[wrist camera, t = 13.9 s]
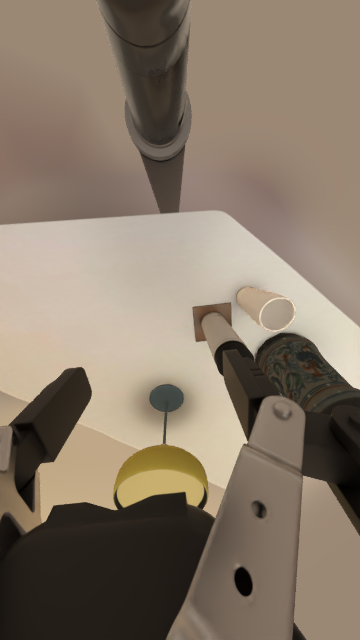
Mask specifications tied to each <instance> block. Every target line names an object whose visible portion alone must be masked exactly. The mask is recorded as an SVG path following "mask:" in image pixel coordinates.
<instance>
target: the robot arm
mask: <svg viewBox="0 0 360 640" xmlns="http://www.w3.org/2000/svg"><path fill="white" fill-rule="evenodd" d="M96 2H97V5H98V9H99V12H100V15H101V18H102V22H103V25H104V28H105V31H106V35H107V37H108V41H109V44H110V47H111V50H112V54H113V57H114V60H115V63H116V67H117V70H118V73H119V76H120V79H121V83H122V86H123V89H124V92H125V96H126V99H127V102H128V105H129V109H130V112H131V116H132V120H133V124H134V127H135V129H136V132H137V133H138V135H139V137H140V138H141V139H142V140H143V141H144V142H145V143H146V144H147V145H149V146H151V147H154V148H165V147H168V146H170V145H172V144H173V143H174V142H175V141H176V140H177V139H178V137H179V135H180V133H181V131H182V128H183V124H184V116H185V111H186V107H187V102H186V107H185V94H186V77H187V62H188V48H189V32H190V15H191V0H96ZM184 107H185V108H184ZM223 375H224V381H225V385H226V387H227V390H228V393H229V395H230V398H231V400H232V403H233V405H234V408H235V410H236V413H237V415H238V418H239V421H240V423H241V426H242V428H243V431H244V433H245V436H246V438H247V441H248V443H247V444H243V446H242V448H241V450H240V453H239V455H238V458H237V461H236V464H235V466H234V469H233V472H232V475H231V477H230V480H229V483H228V485H227V488H226V491H225V494H224V496H223V499H222V502H221V504H220V507H219V510H218V513H217V515H216V518H214V517H213V516H212V515H210V514H209V513H207V512H205V511H204V510H203V509H200V508H198V507H196V506H193V505H190V504H188V503H187V497H186V492H178V493H168V494H159V495H152V496H150V497H147V498H145V499H143V500H141V501H138V502H136V503H134V504H131V505H129V506H127V507H124V508H122V509H120V510H111V509H108V508H104V507H101V506H97V505H94V504H90V503H87V502H83V503H74V504H64V505H56V506H53V508H52V510H51V512H50V514H49V516H48V518H47V520H46V522H44V523H42V521H41V511H40V510H41V509H40V508H41V507H40V474H39V472H38V470H37V468H38V467H39V465H40V464H41V463H48V462H54V461H55V459H56V457H57V455H58V454H59V452H60V450H61V449H62V447H63V445H64V444H65V442H66V440H67V439H68V437H69V435H70V433H71V432H72V430H73V428H74V427H75V425H76V423H77V422H78V420H79V418H80V416H81V415H82V413H83V411H84V410H85V408H86V406H87V405H88V403H89V401H90V399H91V395H92V390H91V387H90V384H89V381H88V378H87V376H86V373H85V370H84V369H83V368H82V367H77V368H69V369H66V370H65V371H64V372H63V373H62V374H61V375H60V376H59V377H58V378H57V379H56V380H55V381H53V382H52V383H50V384H49V385H47V386H46V387H45V388H44V389H43V390H42V392H41V393H40V395H38V396H37V397H36V398H35V399H34V400H33V401H32V402H31V403H30V404H29V405H28V406H27V407H26V408H25V409H24V410H23V411H22V412H21V413H20V414H19V415H18V416H17V417H16V418H15V419H14V420H13V421H12V422H11V423H10V424H9V425H8V426H1V427H0V640H306V638H305V637H304V636H303V634H302V633H301V631H300V630H299V629H298V627H297V626H296V625H295V623H294V607H295V592H296V577H297V560H298V545H299V531H300V515H301V499H302V483H303V476H307V477H311V478H315V479H319V480H323V481H326V482H327V483H328V485H329V487H330V488H331V490H332V491H333V493H334V495H335V496H336V497H337V500H338V501H339V503H340V504H341V506H342V508H343V509H344V511H345V513H346V514H347V516H348V518H349V519H350V521H351V522H352V524H353V526H354V527H355V529H356V530H357V532H358V533H359V535H360V408H359V407H356V406H352V405H338V406H335V407H334V408H333V409H332V413H331V415H328V414H322V413H315V412H309V411H305V410H303V409H302V408H301V407H300V406H299V405H298V404H297V403H296V402H294V401H292V400H291V399H288V398H286V397H282V396H281V395H280V393H279V392H278V391H277V389H276V388H275V387H274V385H273V384H272V383H271V381H270V380H269V379H268V377H267V376H266V375H265V374H264V372H263V371H262V370H261V368H260V367H259V366H258V364H257V363H256V362H255V361H253V360H252V359H250V358H248V357H244V358H242V356H241V355H240V353H239V352H238V350H237V349H235V350H226V351H223Z"/></svg>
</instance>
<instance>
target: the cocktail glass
mask: <svg viewBox="0 0 360 640" xmlns="http://www.w3.org/2000/svg"><path fill="white" fill-rule="evenodd" d="M183 400H184V396H183V393H182V392H181V390H180V389H178V388H177V387H175V386H172V385H161V386H158V387H156V388H155V389H154V390H153V391H152V392H151V394H150V403H151V405H152V406H153V407H154V408H155V409H157V410H159V411H163V412H165V417H164V436H163V444H161V445H158V446H151V447H148V448H145V449H142V450H140V451H139V452H137V453H135V454H133V455H132V456H131V457H129V458H128V459H127V460H126V461H125V462H124V464H123V465H122V467H121V468H120V470H119V473H118V475H117V478H116V482H115V486H114V493H113V499H114V503H115V506H116V507H117V509H118V510H120V509H122V508H124V507H127V506H129V505H131V504H134V503H136V502H138V501H141V500H143V499H145V498H147V497H150V496H152V495H159V494H168V493H178V492H186V497H187V503H188V504H190V505H193V506H196V507H198V508H200V509H203V508H204V507H205V505H206V503H207V499H208V481H207V476H206V473H205V470H204V468H203V466H202V464H201V463H200V461H199V460H198V459H197V458H196V457H195V456H193V455H192V454H191V453H189V452H187V451H185V450H184V449H181V448H178V447H175V446H169V445H167V444H166V424H167V412H171V411H174V410H176V409H178V408H179V407H180V406H181V405H182V403H183Z"/></svg>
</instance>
